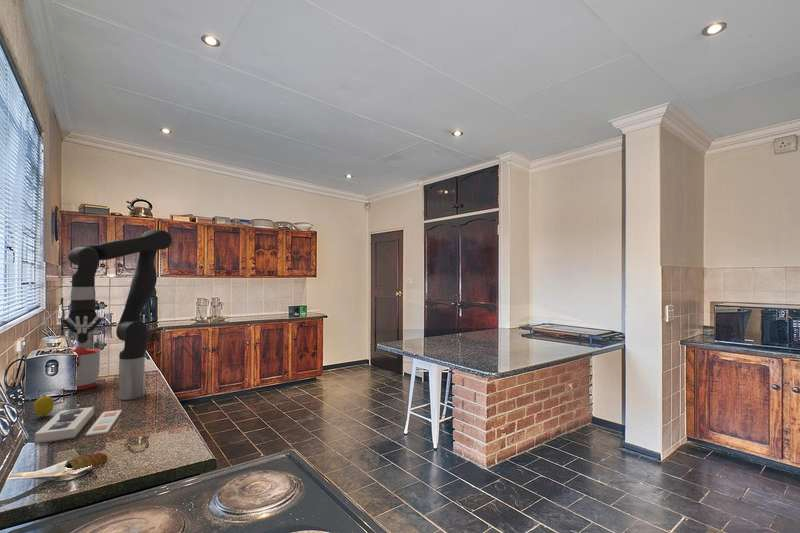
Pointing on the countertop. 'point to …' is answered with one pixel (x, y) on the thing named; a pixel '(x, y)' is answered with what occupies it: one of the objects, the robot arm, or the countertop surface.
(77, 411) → the button far
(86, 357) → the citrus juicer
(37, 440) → the button panel
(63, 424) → the button near
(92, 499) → the countertop surface
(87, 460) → the pastry
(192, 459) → the countertop surface
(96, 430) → the pattern card
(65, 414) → the button middle
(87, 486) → the countertop surface
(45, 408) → the lemon
